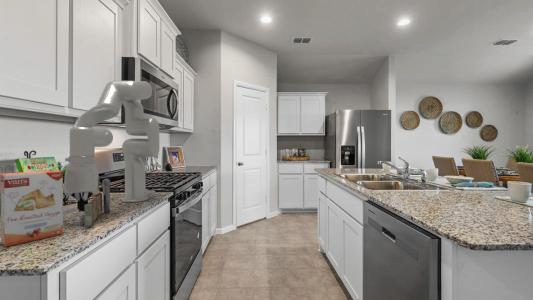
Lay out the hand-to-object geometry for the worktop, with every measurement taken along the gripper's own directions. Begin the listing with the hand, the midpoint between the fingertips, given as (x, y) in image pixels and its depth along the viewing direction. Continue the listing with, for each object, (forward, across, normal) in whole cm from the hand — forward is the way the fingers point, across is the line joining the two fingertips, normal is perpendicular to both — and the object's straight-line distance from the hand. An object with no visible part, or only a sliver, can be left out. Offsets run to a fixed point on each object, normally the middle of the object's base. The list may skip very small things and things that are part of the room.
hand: (82, 210), depth 99 cm
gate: (+4, +3, +4) cm, 6 cm away
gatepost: (+5, +5, +14) cm, 16 cm away
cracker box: (+5, -10, -13) cm, 17 cm away
